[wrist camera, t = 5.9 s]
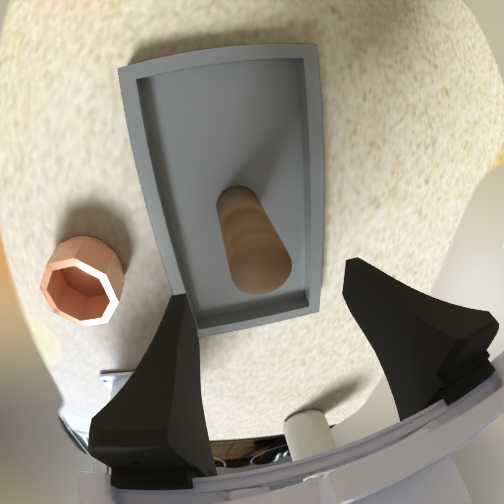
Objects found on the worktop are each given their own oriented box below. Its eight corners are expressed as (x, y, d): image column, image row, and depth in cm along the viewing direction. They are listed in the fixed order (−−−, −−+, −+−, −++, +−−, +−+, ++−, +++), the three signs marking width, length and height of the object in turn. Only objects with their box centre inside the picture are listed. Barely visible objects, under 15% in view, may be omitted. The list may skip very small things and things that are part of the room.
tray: (311, 297, 28) (319, 311, 26) (189, 323, 26) (189, 339, 25) (305, 47, 16) (317, 44, 14) (124, 70, 14) (117, 68, 13)
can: (330, 410, 44) (353, 466, 34) (299, 428, 46) (317, 482, 37) (306, 404, 41) (329, 469, 31) (272, 424, 43) (290, 485, 33)
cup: (132, 291, 23) (127, 319, 20) (74, 301, 23) (64, 328, 20) (108, 228, 20) (96, 252, 17) (45, 244, 19) (29, 268, 16)
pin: (259, 220, 22) (292, 288, 15) (219, 227, 21) (235, 299, 15) (256, 182, 20) (291, 237, 13) (213, 189, 20) (226, 249, 13)
